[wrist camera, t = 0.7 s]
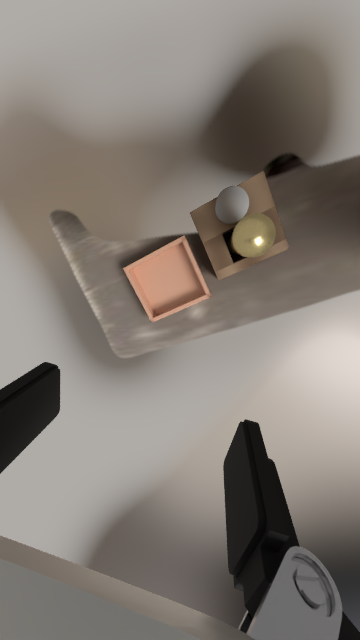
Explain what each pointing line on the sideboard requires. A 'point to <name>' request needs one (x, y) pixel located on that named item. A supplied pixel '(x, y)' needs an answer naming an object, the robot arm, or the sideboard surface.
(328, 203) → the sideboard surface
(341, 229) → the sideboard surface
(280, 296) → the sideboard surface
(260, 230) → the pin
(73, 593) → the robot arm
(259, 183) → the block
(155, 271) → the tray
